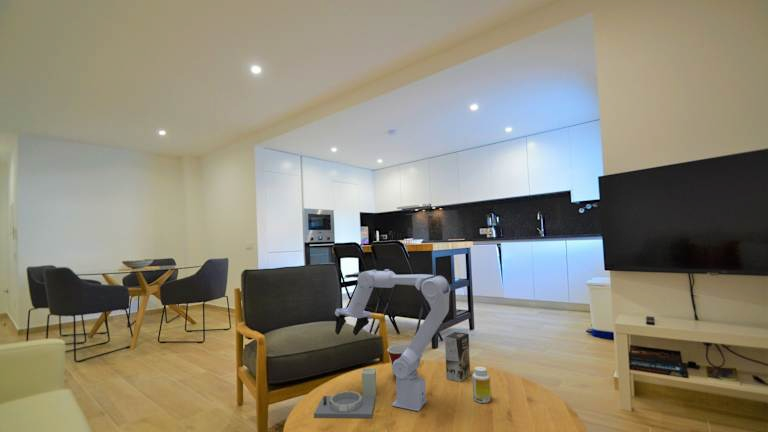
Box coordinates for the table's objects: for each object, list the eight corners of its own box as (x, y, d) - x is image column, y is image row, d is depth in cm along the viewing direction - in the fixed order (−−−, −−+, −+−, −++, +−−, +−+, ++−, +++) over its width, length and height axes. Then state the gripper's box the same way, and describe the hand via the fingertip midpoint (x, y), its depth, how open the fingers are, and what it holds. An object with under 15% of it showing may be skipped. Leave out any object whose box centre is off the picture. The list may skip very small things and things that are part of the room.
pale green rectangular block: (376, 391, 125) (375, 368, 126) (374, 397, 120) (374, 373, 121) (364, 391, 126) (363, 368, 126) (362, 397, 121) (361, 373, 121)
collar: (363, 397, 118) (363, 389, 118) (359, 412, 108) (359, 404, 108) (327, 397, 119) (327, 389, 119) (319, 412, 109) (319, 403, 109)
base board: (375, 399, 118) (375, 396, 118) (371, 418, 106) (371, 414, 106) (323, 399, 120) (323, 395, 120) (313, 417, 108) (313, 413, 108)
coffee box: (461, 382, 130) (459, 338, 131) (445, 378, 134) (444, 336, 135) (471, 374, 138) (469, 333, 139) (456, 371, 141) (454, 331, 142)
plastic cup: (390, 372, 142) (389, 342, 143) (416, 373, 140) (415, 343, 141) (385, 383, 132) (384, 351, 132) (413, 385, 129) (412, 352, 130)
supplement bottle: (494, 401, 115) (492, 370, 115) (479, 405, 113) (478, 372, 113) (483, 394, 120) (482, 364, 120) (470, 397, 118) (468, 367, 119)
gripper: (370, 297, 133) (357, 328, 135) (337, 293, 125) (324, 325, 127) (379, 307, 127) (365, 339, 129) (345, 303, 119) (331, 337, 122)
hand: (345, 333), depth 128 cm, fingers open, 7 cm apart
